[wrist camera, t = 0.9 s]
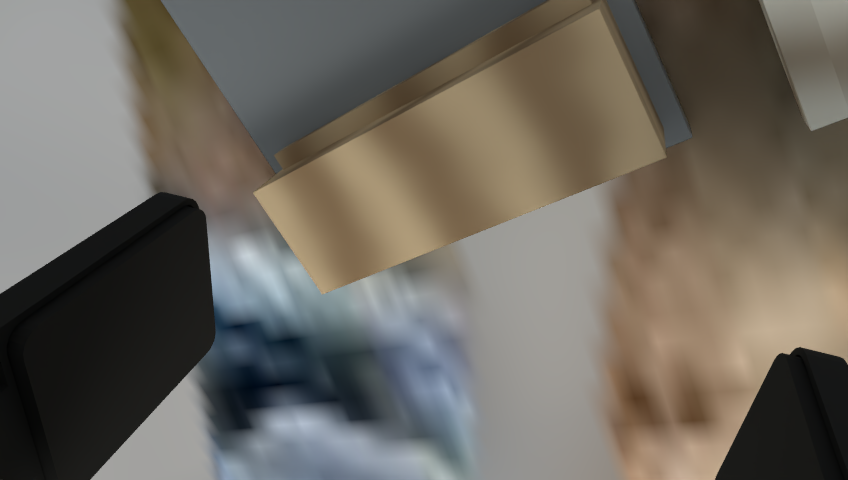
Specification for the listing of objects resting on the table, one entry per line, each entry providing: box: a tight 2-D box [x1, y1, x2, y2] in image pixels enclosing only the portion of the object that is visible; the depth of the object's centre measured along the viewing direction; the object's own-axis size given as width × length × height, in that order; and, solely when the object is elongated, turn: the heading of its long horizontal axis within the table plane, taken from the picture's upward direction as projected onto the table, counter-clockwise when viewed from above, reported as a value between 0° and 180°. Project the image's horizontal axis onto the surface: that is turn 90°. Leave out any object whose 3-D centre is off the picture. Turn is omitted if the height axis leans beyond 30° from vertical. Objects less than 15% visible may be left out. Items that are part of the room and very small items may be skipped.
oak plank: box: [253, 0, 667, 294], centre depth 33 cm, size 20×8×4 cm, turn 122°
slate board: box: [161, 0, 692, 174], centre depth 34 cm, size 22×20×2 cm
